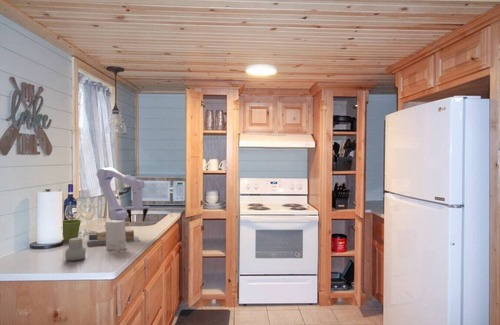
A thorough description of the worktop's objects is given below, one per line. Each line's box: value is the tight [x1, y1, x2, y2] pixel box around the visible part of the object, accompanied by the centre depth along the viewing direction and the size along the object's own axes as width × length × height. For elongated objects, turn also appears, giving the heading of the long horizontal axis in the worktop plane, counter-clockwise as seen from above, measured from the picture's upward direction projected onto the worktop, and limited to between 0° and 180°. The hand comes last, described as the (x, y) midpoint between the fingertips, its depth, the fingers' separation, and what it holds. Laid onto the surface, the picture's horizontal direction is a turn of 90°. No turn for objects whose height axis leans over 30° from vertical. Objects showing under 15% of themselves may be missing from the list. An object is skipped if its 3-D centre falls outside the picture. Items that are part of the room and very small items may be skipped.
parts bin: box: [87, 233, 106, 247], centre depth 212 cm, size 17×14×3 cm
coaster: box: [126, 236, 141, 243], centre depth 219 cm, size 11×11×1 cm
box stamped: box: [125, 229, 135, 241], centre depth 218 cm, size 4×4×5 cm
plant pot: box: [62, 219, 82, 242], centre depth 217 cm, size 12×12×11 cm
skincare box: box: [104, 219, 127, 252], centre depth 197 cm, size 8×7×16 cm
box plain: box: [95, 230, 106, 240], centre depth 216 cm, size 4×4×5 cm
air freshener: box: [64, 237, 86, 262], centre depth 178 cm, size 11×8×10 cm
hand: (137, 221), depth 226 cm, fingers open, 7 cm apart
